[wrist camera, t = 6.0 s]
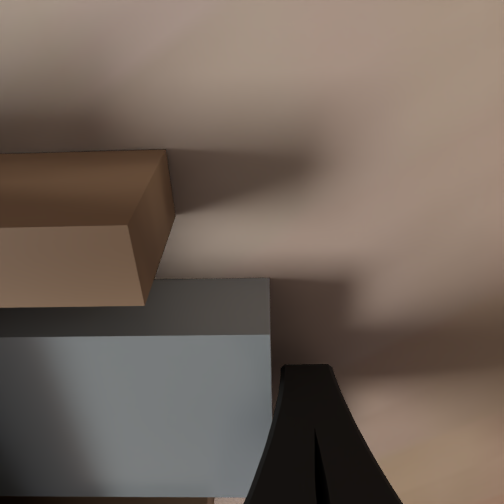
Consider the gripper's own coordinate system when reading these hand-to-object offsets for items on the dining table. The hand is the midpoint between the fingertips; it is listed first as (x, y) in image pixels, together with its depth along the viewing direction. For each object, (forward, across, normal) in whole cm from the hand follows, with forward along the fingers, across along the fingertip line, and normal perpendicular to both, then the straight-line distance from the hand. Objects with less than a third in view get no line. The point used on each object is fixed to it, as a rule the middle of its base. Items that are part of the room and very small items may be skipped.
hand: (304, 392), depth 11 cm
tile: (+1, +6, 0) cm, 6 cm away
